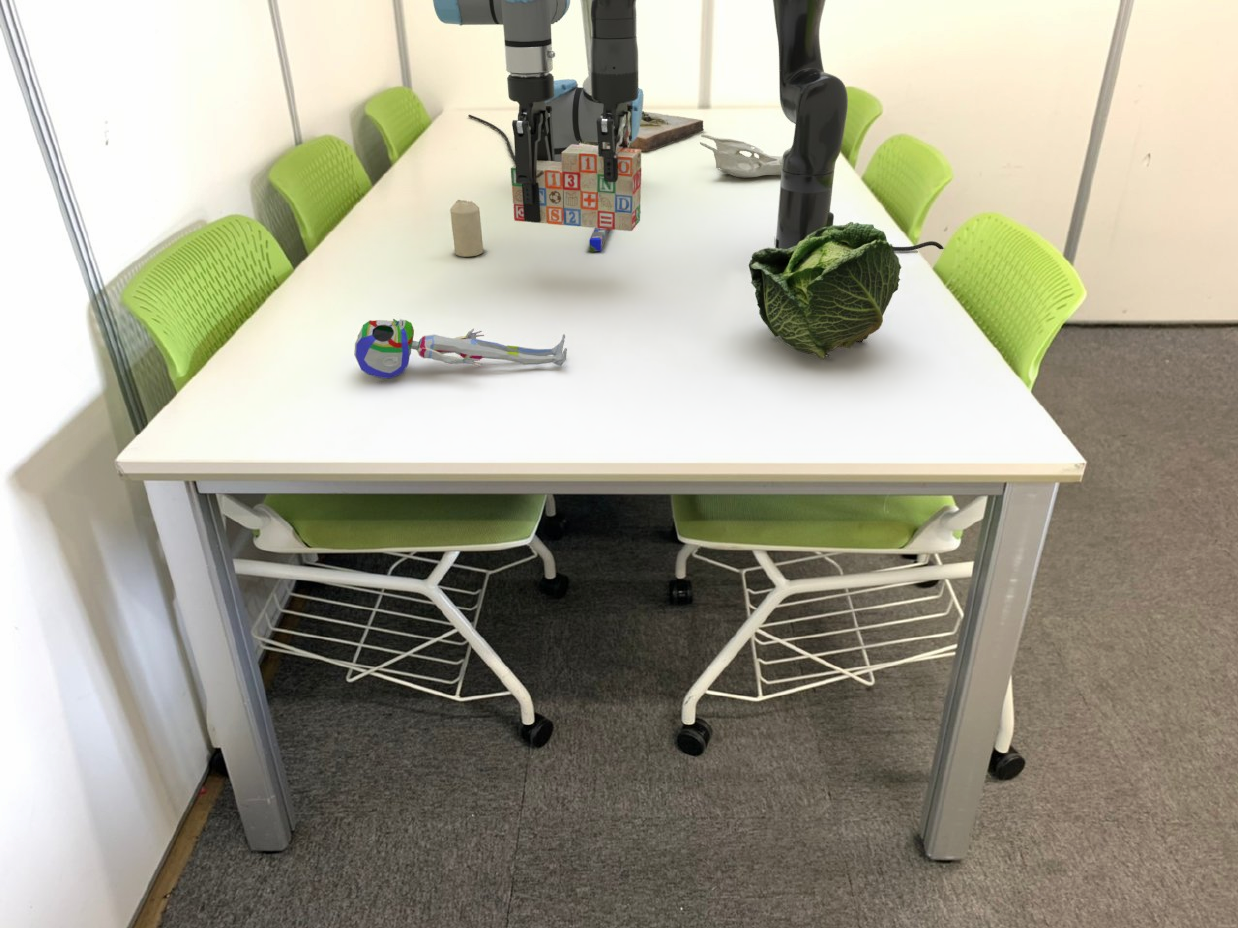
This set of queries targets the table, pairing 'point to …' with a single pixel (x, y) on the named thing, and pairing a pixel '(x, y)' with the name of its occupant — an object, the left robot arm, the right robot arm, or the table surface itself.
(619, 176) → the stack of blocks
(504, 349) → the toy
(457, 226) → the candle
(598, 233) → the blue-tipped grey rod
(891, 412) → the table surface
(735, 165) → the anatomical model
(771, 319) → the vegetable
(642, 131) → the plaque
